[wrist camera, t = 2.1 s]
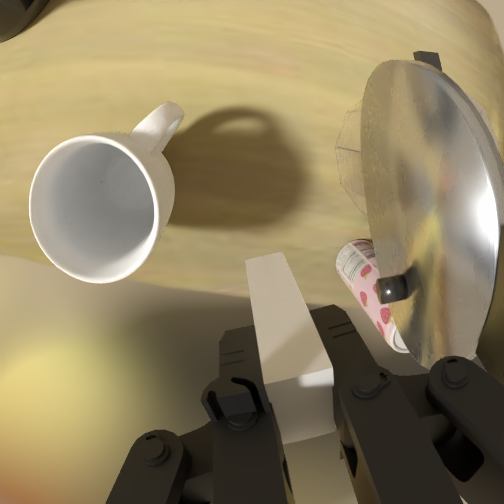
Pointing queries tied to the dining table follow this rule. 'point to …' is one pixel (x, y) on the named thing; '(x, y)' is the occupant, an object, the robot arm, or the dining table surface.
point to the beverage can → (368, 288)
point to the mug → (105, 198)
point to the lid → (435, 214)
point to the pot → (350, 142)
